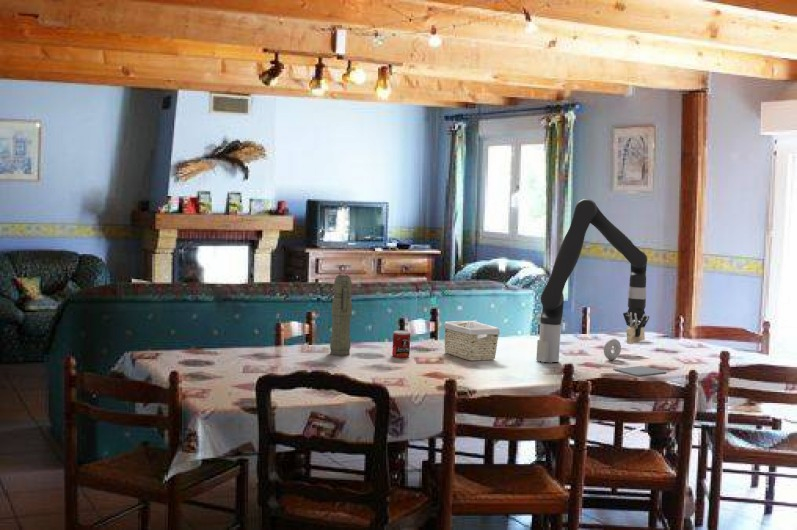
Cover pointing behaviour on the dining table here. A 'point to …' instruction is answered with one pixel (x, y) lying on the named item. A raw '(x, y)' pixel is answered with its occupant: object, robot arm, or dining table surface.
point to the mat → (639, 371)
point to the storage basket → (471, 340)
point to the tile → (631, 335)
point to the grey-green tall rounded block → (341, 316)
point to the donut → (615, 351)
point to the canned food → (401, 344)
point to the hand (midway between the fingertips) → (635, 336)
